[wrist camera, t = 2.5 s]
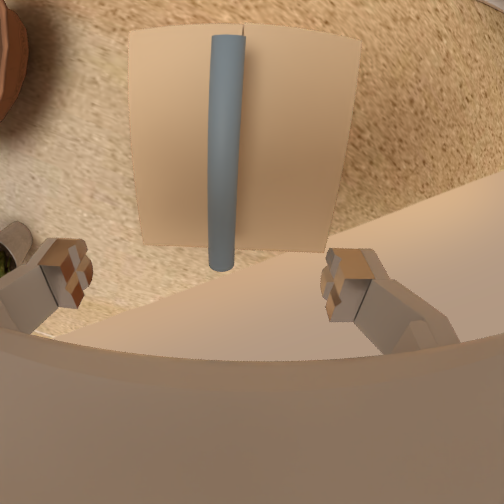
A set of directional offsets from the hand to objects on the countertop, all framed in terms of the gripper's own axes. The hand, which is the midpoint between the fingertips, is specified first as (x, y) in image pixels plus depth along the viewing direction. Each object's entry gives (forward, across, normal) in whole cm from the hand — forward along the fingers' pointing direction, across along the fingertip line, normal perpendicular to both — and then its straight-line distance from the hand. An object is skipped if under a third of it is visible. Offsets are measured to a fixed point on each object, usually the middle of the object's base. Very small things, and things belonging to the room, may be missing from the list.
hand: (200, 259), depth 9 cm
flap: (+13, +3, 0) cm, 14 cm away
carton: (+24, -1, 0) cm, 24 cm away
